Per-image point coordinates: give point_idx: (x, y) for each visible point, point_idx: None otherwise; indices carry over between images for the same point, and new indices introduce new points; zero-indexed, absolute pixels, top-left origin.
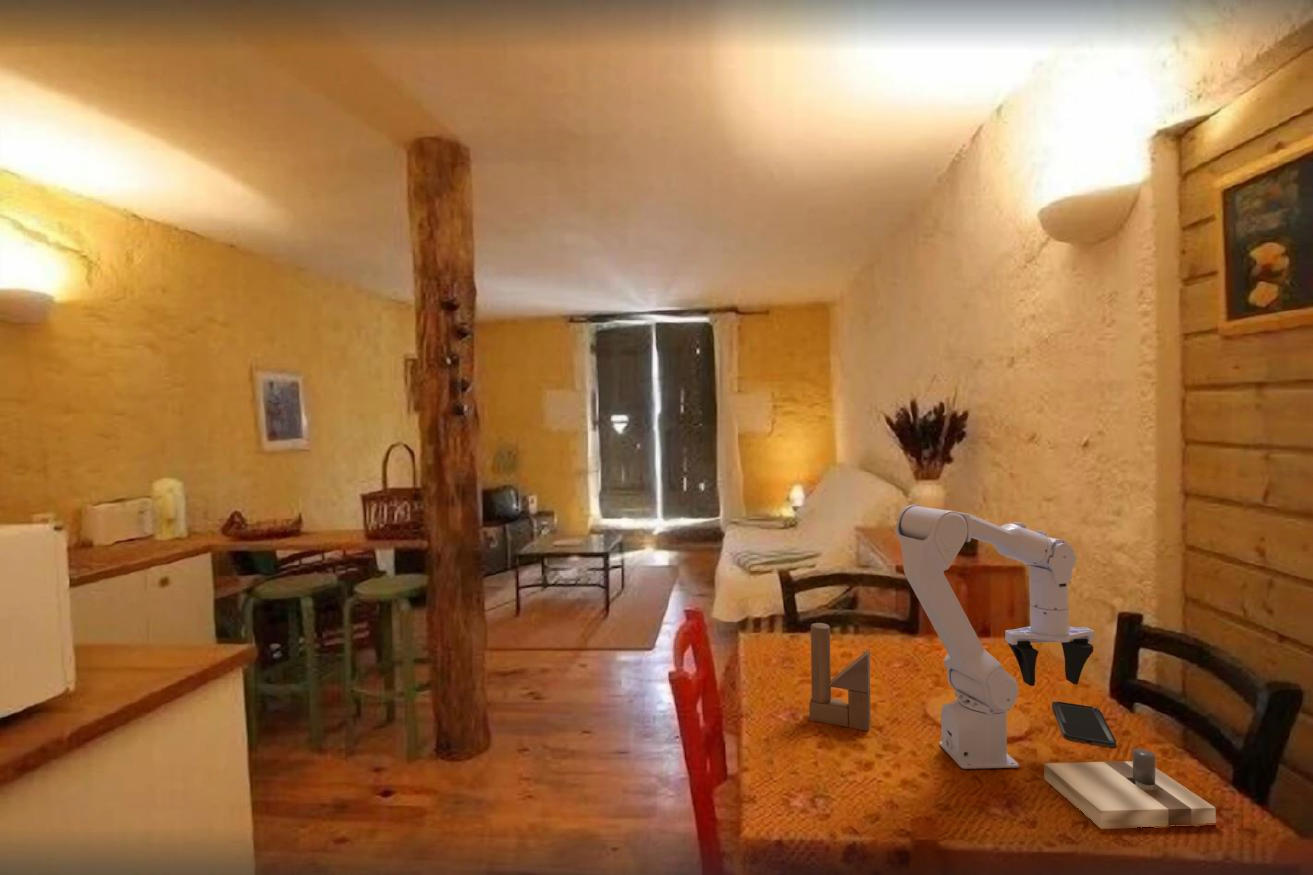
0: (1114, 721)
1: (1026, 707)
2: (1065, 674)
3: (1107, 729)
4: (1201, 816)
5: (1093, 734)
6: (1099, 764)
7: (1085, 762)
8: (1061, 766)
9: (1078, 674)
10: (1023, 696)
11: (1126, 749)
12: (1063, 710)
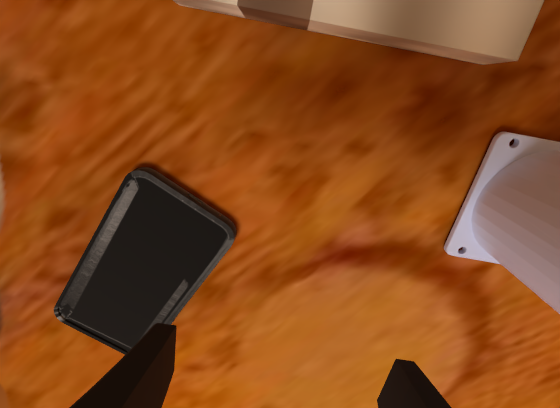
0: (50, 266)
1: (212, 355)
2: (163, 399)
3: (101, 232)
4: None
5: (157, 220)
6: (341, 5)
7: (374, 32)
8: (481, 27)
9: (129, 368)
10: (181, 390)
11: (119, 149)
12: (144, 324)
